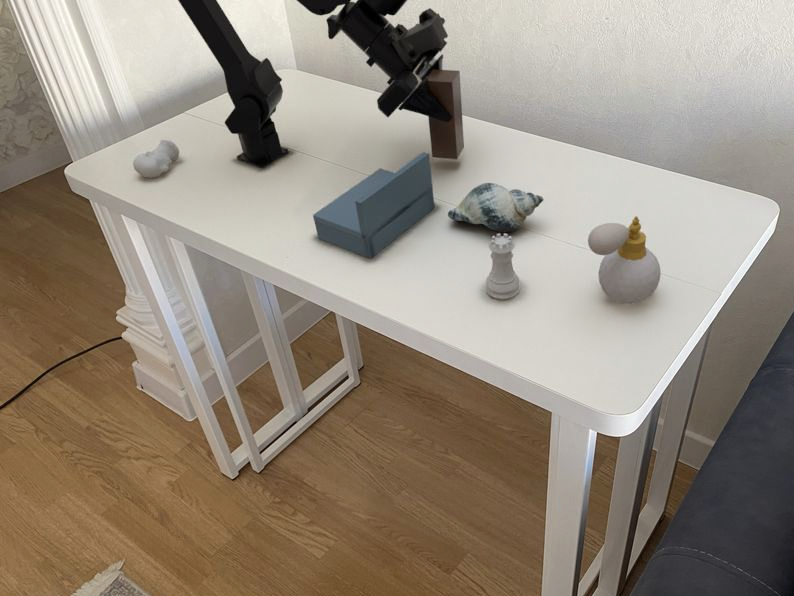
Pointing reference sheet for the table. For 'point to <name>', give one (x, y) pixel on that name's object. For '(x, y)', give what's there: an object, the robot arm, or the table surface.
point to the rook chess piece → (502, 269)
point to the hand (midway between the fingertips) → (453, 113)
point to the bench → (378, 208)
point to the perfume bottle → (625, 262)
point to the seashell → (496, 207)
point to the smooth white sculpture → (156, 159)
